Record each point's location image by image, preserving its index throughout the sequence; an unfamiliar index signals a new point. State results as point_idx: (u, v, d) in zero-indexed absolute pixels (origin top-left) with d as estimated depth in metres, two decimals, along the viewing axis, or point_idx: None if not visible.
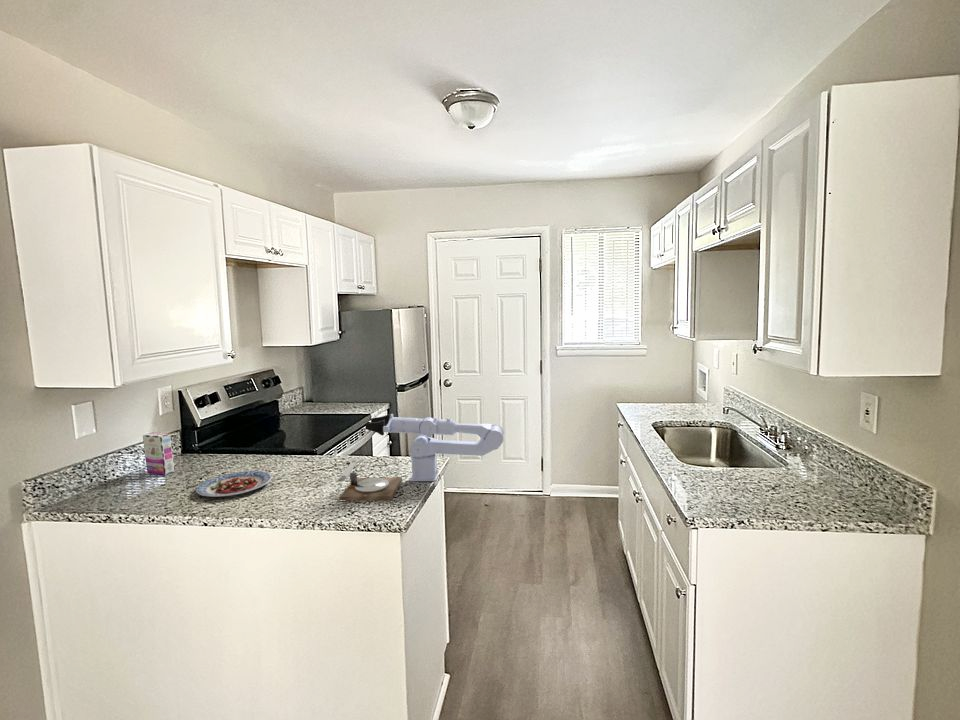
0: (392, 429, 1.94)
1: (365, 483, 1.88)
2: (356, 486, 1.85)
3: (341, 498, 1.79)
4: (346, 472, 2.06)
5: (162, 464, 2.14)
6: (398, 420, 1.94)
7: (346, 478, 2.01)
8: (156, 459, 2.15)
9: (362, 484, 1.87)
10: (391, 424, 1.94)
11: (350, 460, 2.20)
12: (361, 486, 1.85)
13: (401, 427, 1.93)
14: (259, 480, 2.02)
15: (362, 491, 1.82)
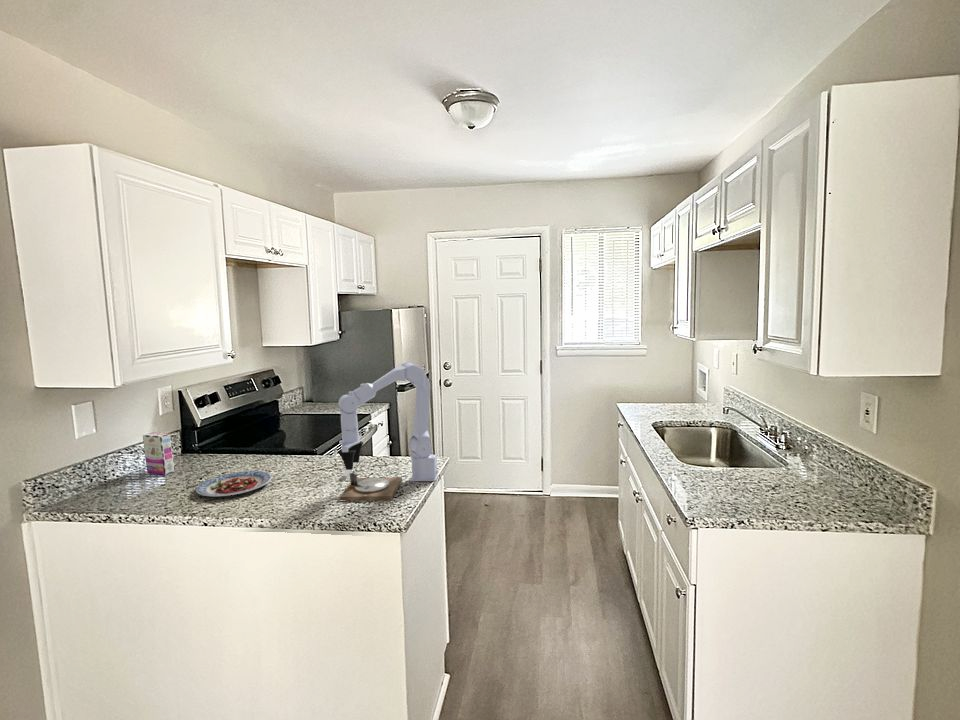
0: (351, 441, 1.83)
1: (365, 483, 1.88)
2: (356, 486, 1.85)
3: (341, 498, 1.79)
4: (346, 472, 2.06)
5: (162, 464, 2.14)
6: (342, 434, 1.84)
7: (346, 478, 2.00)
8: (156, 459, 2.15)
9: (362, 484, 1.87)
10: (346, 442, 1.83)
11: None
12: (361, 486, 1.85)
13: (347, 432, 1.82)
14: (259, 480, 2.02)
15: (362, 491, 1.82)
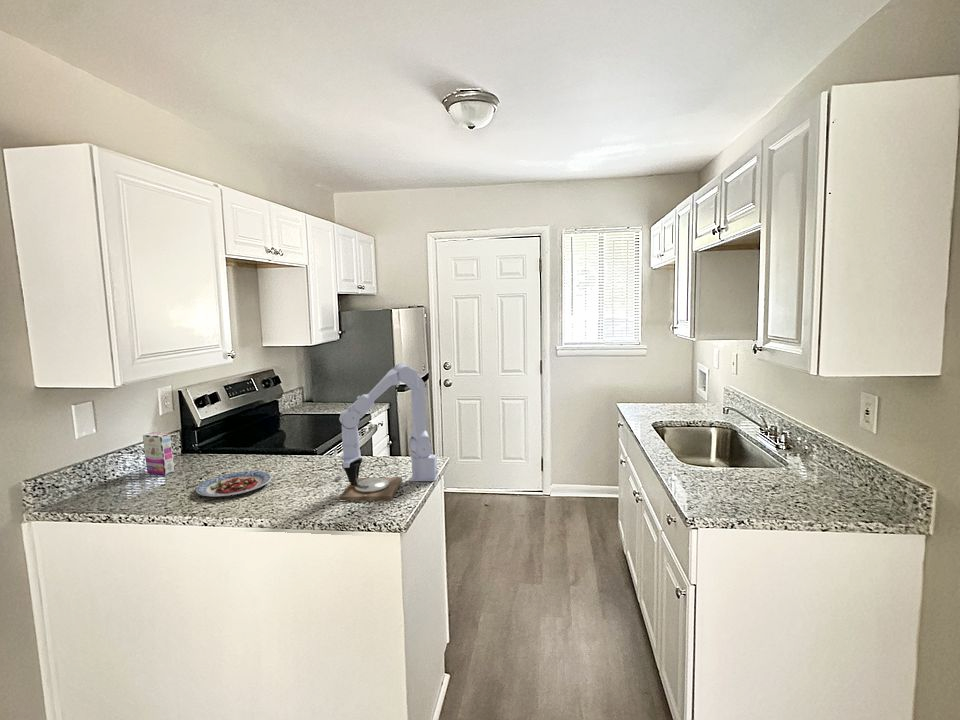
0: (352, 456, 1.84)
1: (365, 483, 1.88)
2: (356, 486, 1.85)
3: (341, 498, 1.79)
4: (343, 473, 2.05)
5: (162, 464, 2.14)
6: (343, 450, 1.85)
7: None
8: (156, 459, 2.15)
9: (362, 484, 1.87)
10: (347, 457, 1.84)
11: None
12: (361, 486, 1.85)
13: (348, 447, 1.83)
14: (259, 480, 2.02)
15: (362, 491, 1.82)
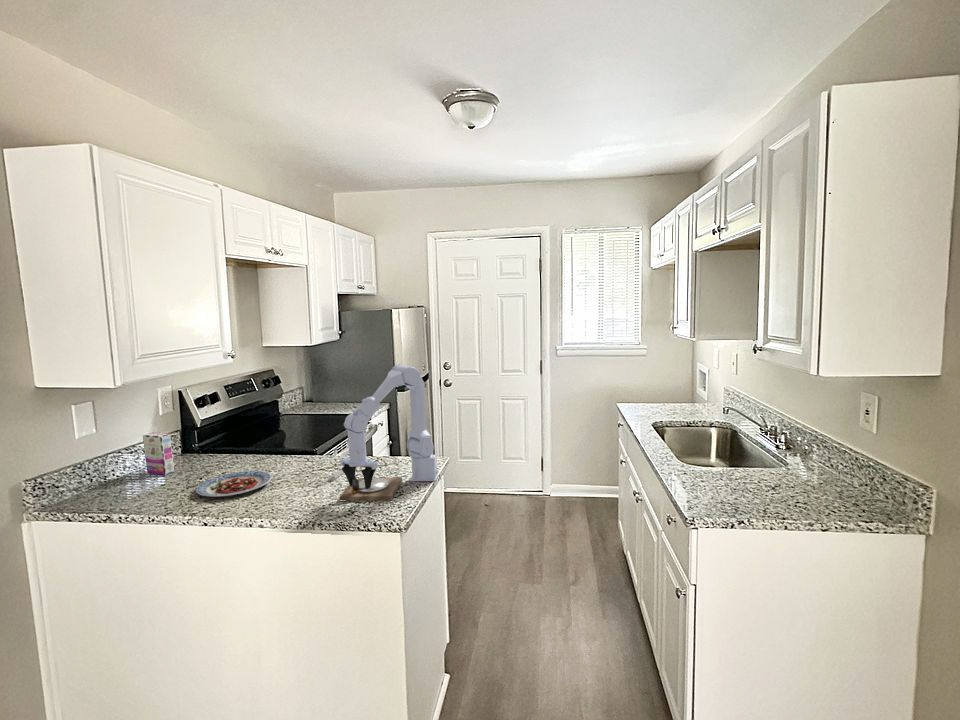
0: (366, 459, 1.80)
1: None
2: (363, 489, 1.82)
3: (341, 498, 1.79)
4: (339, 473, 2.05)
5: (162, 464, 2.14)
6: (357, 456, 1.77)
7: (335, 479, 2.00)
8: (156, 459, 2.15)
9: (364, 487, 1.85)
10: (363, 462, 1.79)
11: None
12: None
13: (364, 451, 1.79)
14: (259, 480, 2.02)
15: (376, 490, 1.82)
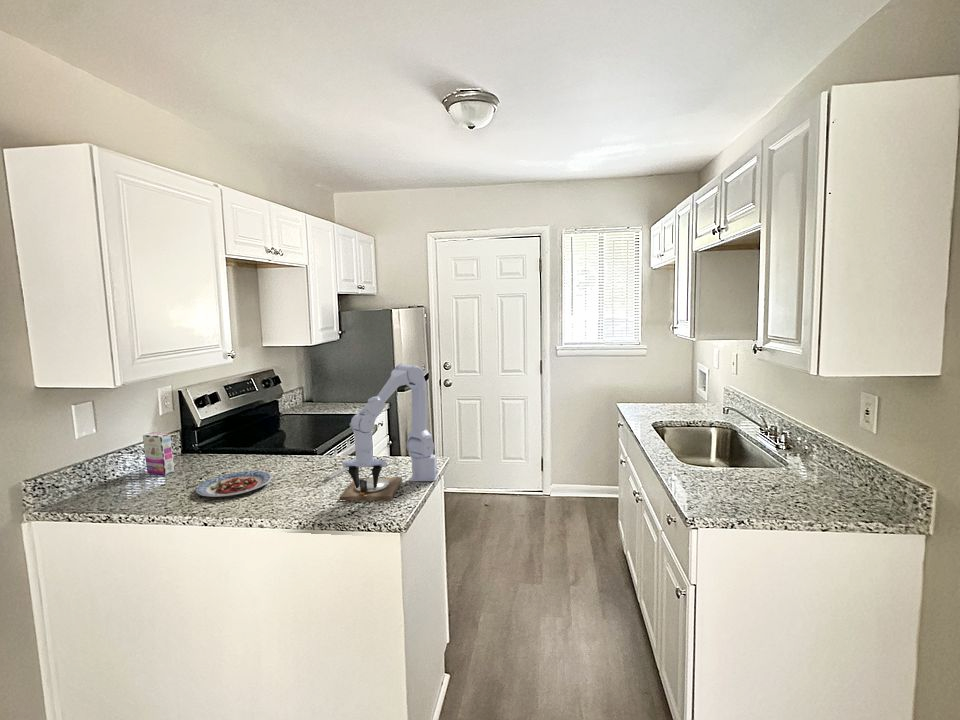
0: (372, 458, 1.80)
1: (368, 486, 1.85)
2: (371, 489, 1.82)
3: (341, 498, 1.79)
4: (336, 473, 2.05)
5: (162, 464, 2.14)
6: (367, 455, 1.77)
7: (330, 479, 2.00)
8: (156, 459, 2.15)
9: (368, 487, 1.84)
10: (372, 461, 1.79)
11: None
12: None
13: (372, 450, 1.79)
14: (259, 480, 2.02)
15: (384, 487, 1.84)
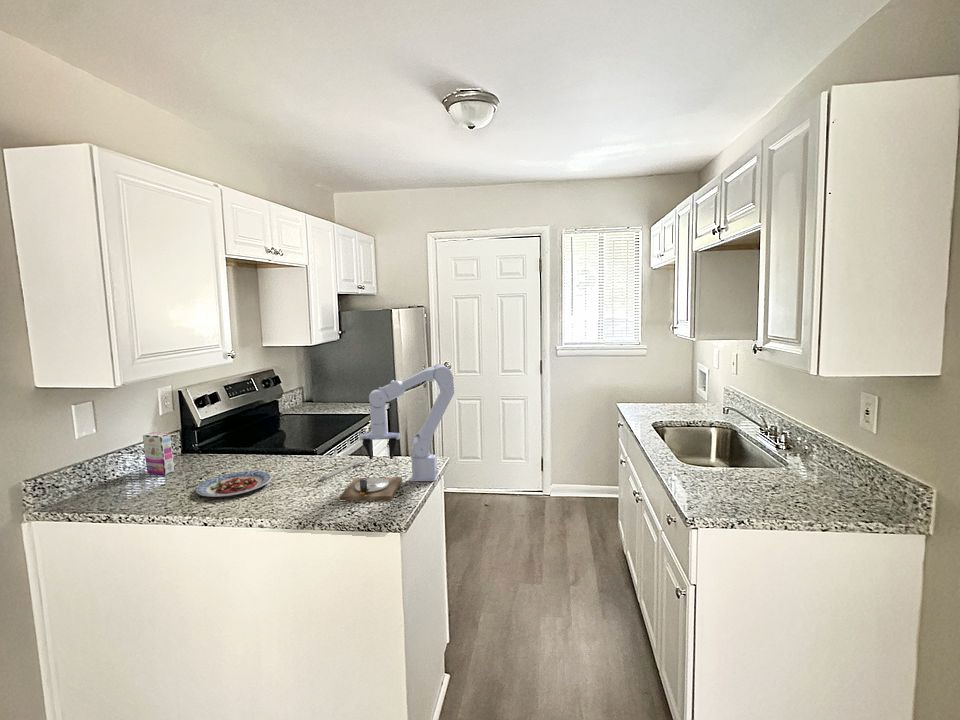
0: None
1: (368, 486, 1.85)
2: (371, 489, 1.82)
3: (341, 498, 1.79)
4: (333, 473, 2.06)
5: (162, 464, 2.14)
6: (382, 428, 1.90)
7: (325, 479, 2.00)
8: (156, 459, 2.15)
9: (368, 487, 1.84)
10: (386, 434, 1.92)
11: (353, 461, 2.18)
12: (374, 487, 1.84)
13: (386, 424, 1.92)
14: (259, 480, 2.02)
15: (384, 487, 1.84)
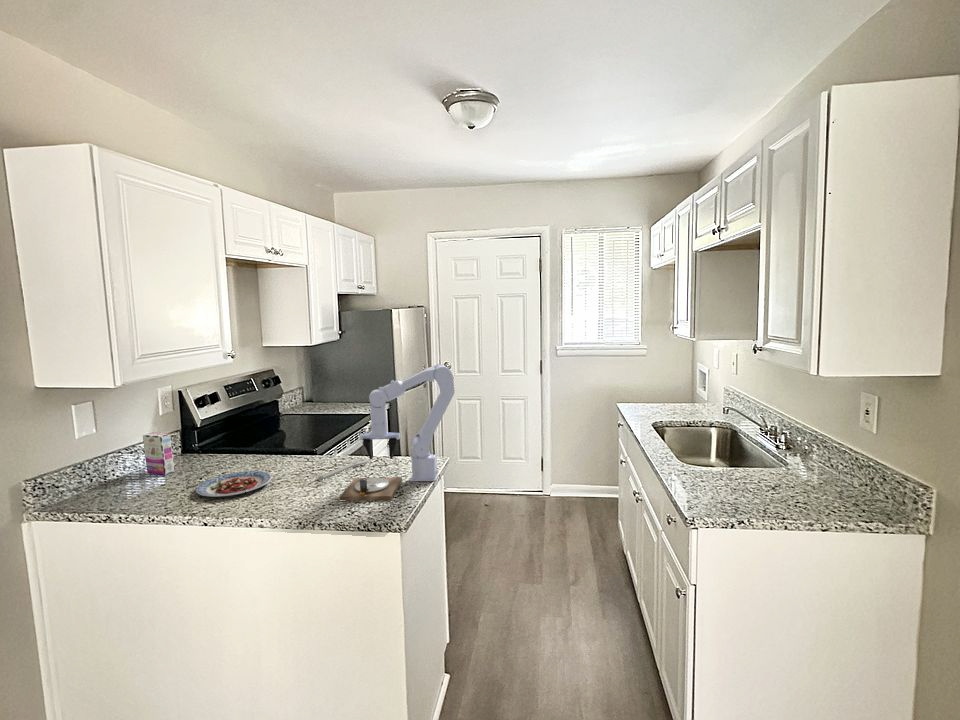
0: None
1: (368, 486, 1.85)
2: (371, 489, 1.82)
3: (341, 498, 1.79)
4: (331, 473, 2.06)
5: (162, 464, 2.14)
6: (382, 428, 1.90)
7: (322, 479, 2.01)
8: (156, 459, 2.15)
9: (368, 487, 1.84)
10: (386, 434, 1.92)
11: (354, 461, 2.18)
12: (374, 487, 1.84)
13: (386, 423, 1.92)
14: (259, 480, 2.02)
15: (384, 487, 1.84)
